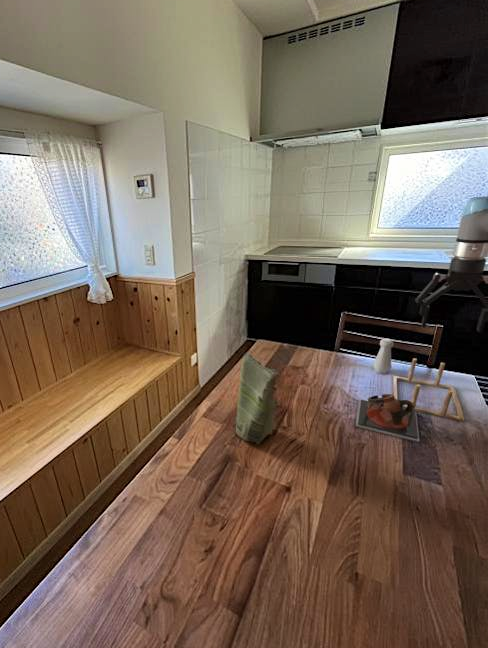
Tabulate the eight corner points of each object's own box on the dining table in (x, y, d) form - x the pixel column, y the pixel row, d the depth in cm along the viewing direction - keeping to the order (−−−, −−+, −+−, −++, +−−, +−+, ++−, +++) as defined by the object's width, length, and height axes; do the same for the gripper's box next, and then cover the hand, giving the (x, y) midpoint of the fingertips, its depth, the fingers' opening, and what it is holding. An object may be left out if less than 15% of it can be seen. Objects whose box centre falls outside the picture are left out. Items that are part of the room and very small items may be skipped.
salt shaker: (393, 371, 126) (400, 340, 121) (383, 376, 124) (390, 345, 119) (378, 365, 131) (384, 335, 126) (369, 370, 129) (375, 339, 123)
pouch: (239, 418, 107) (239, 348, 97) (277, 424, 103) (282, 352, 93) (231, 441, 98) (231, 367, 87) (273, 449, 94) (278, 372, 83)
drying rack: (453, 388, 115) (461, 365, 111) (463, 421, 100) (472, 396, 96) (393, 377, 123) (398, 355, 119) (393, 406, 108) (399, 382, 104)
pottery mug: (377, 429, 97) (369, 401, 98) (367, 422, 106) (360, 397, 107) (422, 422, 95) (414, 393, 95) (409, 415, 104) (401, 389, 104)
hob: (416, 413, 104) (417, 410, 103) (419, 442, 93) (420, 438, 92) (358, 401, 111) (359, 397, 111) (355, 426, 100) (356, 423, 100)
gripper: (416, 258, 95) (402, 328, 103) (535, 261, 84) (508, 338, 92) (414, 253, 101) (400, 319, 109) (524, 255, 90) (500, 328, 98)
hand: (450, 328), depth 101 cm, fingers open, 13 cm apart
